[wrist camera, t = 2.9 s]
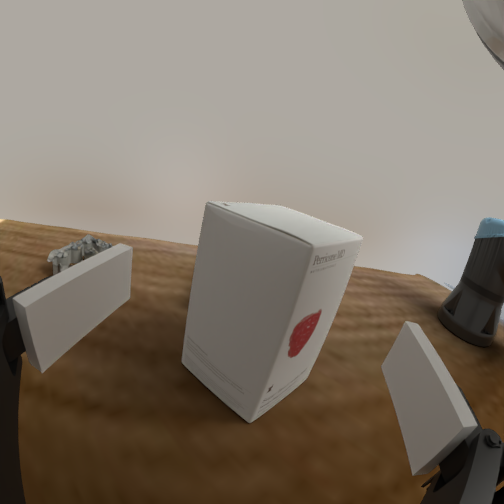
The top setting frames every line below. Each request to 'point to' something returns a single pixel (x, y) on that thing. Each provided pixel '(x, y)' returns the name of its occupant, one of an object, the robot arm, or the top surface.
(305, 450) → the top surface
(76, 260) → the egg carton
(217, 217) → the supplement box
